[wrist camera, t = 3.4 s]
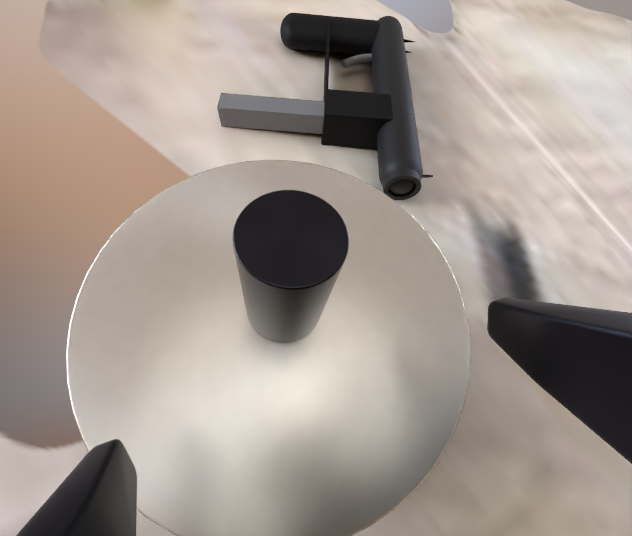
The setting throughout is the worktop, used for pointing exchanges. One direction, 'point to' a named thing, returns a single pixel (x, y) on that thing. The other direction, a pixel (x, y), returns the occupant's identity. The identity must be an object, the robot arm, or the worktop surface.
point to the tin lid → (270, 352)
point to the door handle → (347, 97)
